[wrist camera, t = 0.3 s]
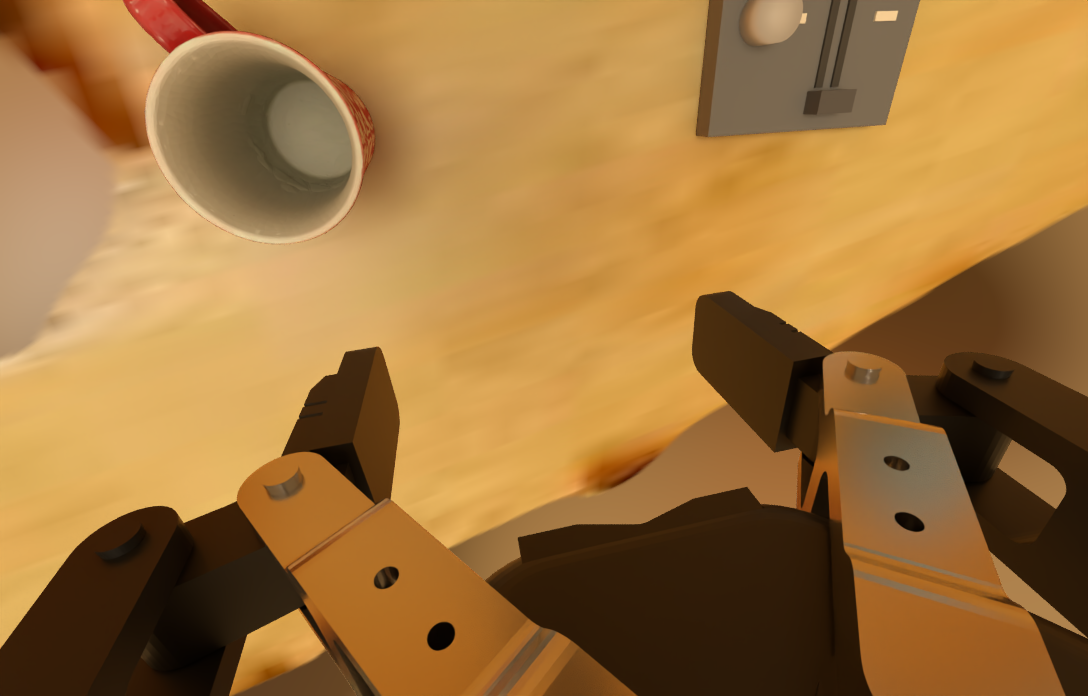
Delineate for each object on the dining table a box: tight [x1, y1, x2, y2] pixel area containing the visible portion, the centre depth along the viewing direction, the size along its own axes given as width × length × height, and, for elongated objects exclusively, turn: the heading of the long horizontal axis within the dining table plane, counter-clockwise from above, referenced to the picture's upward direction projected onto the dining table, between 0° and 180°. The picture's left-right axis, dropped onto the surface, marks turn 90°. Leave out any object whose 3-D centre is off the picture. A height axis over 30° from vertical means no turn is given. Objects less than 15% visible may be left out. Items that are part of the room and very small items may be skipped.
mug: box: [123, 0, 375, 244], centre depth 26 cm, size 13×9×14 cm
